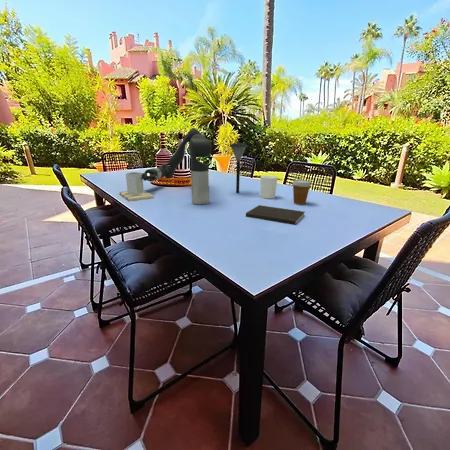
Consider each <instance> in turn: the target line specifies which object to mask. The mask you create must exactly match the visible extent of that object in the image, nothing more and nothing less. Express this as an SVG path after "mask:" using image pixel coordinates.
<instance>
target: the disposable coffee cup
mask: <svg viewBox="0 0 450 450" xmlns="http://www.w3.org/2000/svg"><path fill="white" fill-rule="evenodd" d="M311 185H312V184H311V181H310V180H305V179H295V180H294V179H293V181H292V187H293V188H292V190H293V204H295V205H300V206H301V205H306V203H307V198H308V195H309V192H310V187H311Z"/></svg>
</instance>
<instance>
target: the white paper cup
mask: <svg viewBox="0 0 450 450" xmlns="http://www.w3.org/2000/svg"><path fill="white" fill-rule="evenodd" d="M277 185H278V176H276V175H261V176H260V198H262V199H266V200H267V199H268V200H270V199H275V198H276V192H277Z"/></svg>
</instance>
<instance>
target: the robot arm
mask: <svg viewBox="0 0 450 450" xmlns="http://www.w3.org/2000/svg"><path fill="white" fill-rule="evenodd" d="M186 133H187V134H186V135H185V136H184V138H183V139H182V141H181V143H180V144H179V145H178V147H177V149H176V151H175V152H174V153H173V154H172V155H171V157H170V158H169V159H168V162H167V163H168V164H169V165H168V164H167V163H162V164H161V165H160V166H158V167H155V168H149V169H146V170H145V171H144V172H141V173H142V178H143V182H146V181H148V182H154V181H157V180H159V179H162V178H163V179H164V178H166V179H171V178H172V177H174V175H175V172H176V170H177V168H178V166H179V165H180V164H181V163H182V162H183V160H184V157H185V150H186V145H187V144H188V142H189V155H190V179H191V180H190V182H191V184H190V185H191V186H190V187H191V203H192V204H194V205H207V204H210V184H209V179H210V178H209V177H210V175H209V174H210V173H209V170H210V169H209V165H208V164H207V163H204V162H201V161H199V160H198V158H208V157H210V155H211V154H212V143H211V141H210V140H209V138H206V137H205V135H203V133H201V132H200V131H199V130H198V129H197V128H195V127H192V128H191V129H189V131H188V132H186Z"/></svg>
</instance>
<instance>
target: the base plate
mask: <svg viewBox="0 0 450 450" xmlns="http://www.w3.org/2000/svg"><path fill="white" fill-rule="evenodd" d="M127 192H128V190H126V191H125V190H124V191H119V195H120V196H121V197H123V199H125V200H127V201H128V202H133V201H134V202H135V201H142V200H149V199H155V196H154V195H153V194H151V193H150V192H148V191H147V193H145V194H142V195H139V196H133V195H125V193H127Z"/></svg>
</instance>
